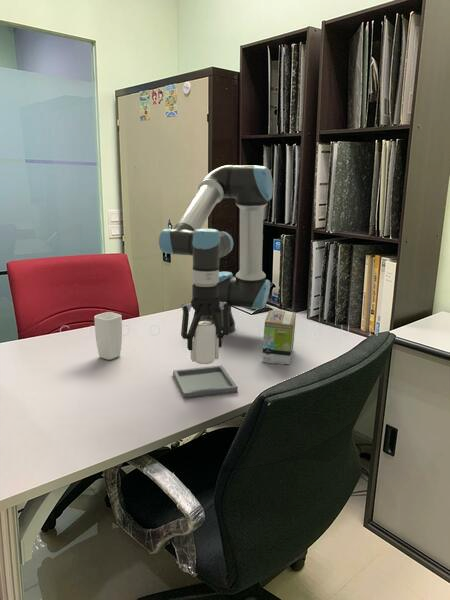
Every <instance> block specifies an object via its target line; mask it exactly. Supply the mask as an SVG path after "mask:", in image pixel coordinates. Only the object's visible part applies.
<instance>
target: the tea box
mask: <svg viewBox="0 0 450 600" xmlns="http://www.w3.org/2000/svg"><path fill="white" fill-rule="evenodd" d="M296 317H297V313H296V312H293V311H283V310H282V311H281V310H273V309H271V310H269V311H268V313H267V315H266V318H265V320H264V328H263V329H264V330H263V341H262V355H261V362H262V363H267V364H268V363H269V364H274V363H279V364H278V365H284V364H289V365H291V362H292V356H293V351H294V342H295V332H296V331H295V330H296V319H297V318H296Z"/></svg>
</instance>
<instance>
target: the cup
mask: <svg viewBox="0 0 450 600" xmlns="http://www.w3.org/2000/svg"><path fill="white" fill-rule="evenodd" d="M93 318H94V319H93V320H94V330H95V331H94V333H95V334H94V335H95V341H96V347H97V354H98V357H99V358H101V359H104V360H108V361H111V360H114V359H116V358H119V357H120V356H121V351H122V344H123V343H122V341H123V321H122V320H123V319H122V314H119V313H116V312H112V311H106V312H102V313H99V314H96V315H94V317H93Z"/></svg>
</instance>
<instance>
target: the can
mask: <svg viewBox="0 0 450 600" xmlns="http://www.w3.org/2000/svg"><path fill="white" fill-rule="evenodd" d="M216 336H217V335H216V327H215V325H214V323H213V322H212V320H209V319H200V320H199V323H198V326H197V328H196V331H195V334H194V337H193V338H194V340H195V363H197V364H202V365H203V364H204V365H209V364H212V363H213V362H214V361H216V359H215V345H216Z"/></svg>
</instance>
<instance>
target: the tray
mask: <svg viewBox="0 0 450 600" xmlns="http://www.w3.org/2000/svg"><path fill="white" fill-rule="evenodd" d="M172 377H173V378H174V381H175V383H176V386H177V388H178V390H179V392H180V394H181V395H182V397H183V400H188V399H196V398H197V399H198V398H205V397H212V396H220V395H221V396H222V395H228V394H229V395H230V394H238V390H239V388H238V387H239V386H238V385H237V384H236V383H235V381H234V380H233V378H232V377H231V376H230V375H229V373H228V372H227V370H226V369H225V368H224V367H223V365H214V366H203V367H194V368H185V369H174V370H173V371H172Z"/></svg>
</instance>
